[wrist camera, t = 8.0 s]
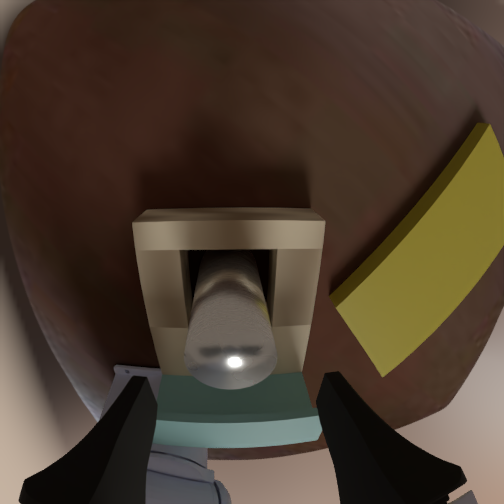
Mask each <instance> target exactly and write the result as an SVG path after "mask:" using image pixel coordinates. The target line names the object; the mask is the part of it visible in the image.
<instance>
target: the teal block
mask: <svg viewBox="0 0 504 504" xmlns="http://www.w3.org/2000/svg"><path fill="white" fill-rule="evenodd" d="M157 404H158V409H157V420H156V428H155V433H154V437H153V442H152V443H153V444H161V445H171V446H182V447H200V448H245V447H263V446H275V445H285V444H293V443H301V442H308V441H314V440H318V438H319V435H320V433H321V431H322V427H321V424H320V420H319V415H318V410H317V408H312V406H311V402H310V399H309V395H308V392H307V388H306V385H305V382H304V378H303V375H302V372H297V373H286V374H272V375H269V376H268V377H267V378H265V379H264V380H263V381H261V382H259V383H257V384H255V385H253V386H250V387H246V388H242V389H219V388H215V387H211V386H208V385H206V384H204V383H202V382H200V381H199V380H197V379H196V378H195V377H193V376H181V375H163V374H162V378H161V382H160V387H159V392H158V397H157Z"/></svg>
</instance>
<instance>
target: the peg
mask: <svg viewBox="0 0 504 504" xmlns="http://www.w3.org/2000/svg"><path fill="white" fill-rule="evenodd" d="M184 362H185V365H186V367H187V369H188V371H189V372H190V374H191V375H192V376H193V377H195V378H196V379H197V380H199V381H200V382H202V383H204V384H206V385H208V386H211V387H215V388H219V389H242V388H246V387H250V386H253V385H255V384H257V383H259V382H261V381H263V380H264V379H265V378H267V377H268V376H269V375H270V374H271V373H272V371H273V370H274V368H275V366H276V363H277V350H276V346H275V341H274V337H273V333H272V328H271V324H270V320H269V315H268V311H267V307H266V303H265V298H264V294H263V290H262V285H261V281H260V277H259V273H258V268H257V264H256V260H255V258H254V256H253V254H252V253H251V252H250V251H249V250H248V249H222V250H207V251H206V253H205V254H204V255H203V257H202V259H201V263H200V268H199V273H198V278H197V283H196V288H195V294H194V299H193V304H192V310H191V316H190V321H189V327H188V333H187V339H186V345H185V352H184Z"/></svg>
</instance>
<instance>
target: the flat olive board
mask: <svg viewBox="0 0 504 504" xmlns="http://www.w3.org/2000/svg"><path fill="white" fill-rule="evenodd" d="M503 245H504V157H503V154H502V152H501V149H500V147H499V144H498V141H497V139H496V137H495V134H494V132H493V130H492V127H491V125H490V124H486V123H477V124H476V126H475V127H474V129H473V130H472V131H471V133H470V134H469V136H468V137H467V139H466V140H465V142H464V143H463V144H462V146H461V147H460V149H459V150H458V151H457V153H456V154H455V156H454V157H453V158H452V160H451V161H450V162H449V164H448V165H447V166H446V168H445V169H444V170H443V171H442V173H441V174H440V175H439V177H438V178H437V179H436V180H435V182H434V183H433V184H432V185H431V187H430V188H429V189H428V190H427V192H426V193H425V194H424V195H423V197H422V198H421V199H420V200H419V201H418V203H417V204H416V205H415V206H414V207H413V208H412V210H411V211H410V212H409V213H408V214H407V215H406V217H405V218H404V219H403V220H402V221H401V222H400V223H399V225H398V226H397V227H396V228H395V229H394V230H393V231H392V232H391V233H390V235H389V236H388V237H387V238H386V239H385V240H384V241H383V242H382V243H381V244H380V245H379V246H378V248H377V249H376V250H375V251H374V252H373V253H372V254H371V255H370V256H369V257H368V258H367V259H366V260H365V261H364V262H363V263H362V264H361V265H360V266H359V267H358V268H357V269H356V270H355V271H354V272H353V273H352V274H351V275H350V276H349V277H348V278H347V279H346V280H345V281H344V282H343V283H342V284H341V285H340V286H339V287H338V288H337V289H336V290H335V291H334V292H333V293H332V294H331V295H330V296H329V297H330V299H331V301H332V302H333V304H334V306H335V307H336V309H337V310H338V312H339V313H340V315H341V316H342V318H343V319H344V320H345V322H346V323H347V325H348V326H349V328H350V329H351V331H352V332H353V334H354V335H355V336H356V338H357V339H358V341H359V342H360V344H361V345H362V347H363V348H364V350H365V351H366V353H367V354H368V356H369V357H370V359H371V360H372V362H373V363H374V365H375V366H376V368H377V369H378V371H379V372H380V374H381V375H382V377H384V376H385V375H386V374H388V373H389V372H390V371H391V370H392V369H394V368H395V367H396V366H397V365H398V364H399V363H401V362H402V361H403V360H404V359H405V358H406V357H407V356H409V355H410V354H411V353H412V352H413V351H414V350H415V349H416V348H417V347H418V346H419V345H420V344H422V343H423V342H424V341H425V340H426V339H427V338H428V337H429V336H430V335H431V334H432V333H433V332H434V331H435V330H436V329H437V328H438V327H439V326H440V325H441V324H442V322H443V321H444V320H445V319H446V318H447V317H448V316H449V315H450V314H451V313H452V312H453V311H454V309H455V308H456V307H457V306H458V305H459V304H460V303H461V301H462V300H463V299H464V298H465V297H466V295H467V294H468V293H469V292H470V291H471V289H472V288H473V287H474V286H475V284H476V283H477V282H478V281H479V279H480V278H481V277H482V275H483V274H484V273H485V271H486V270H487V269H488V267H489V266H490V264H491V263H492V262H493V260H494V259H495V257H496V256H497V254H498V253H499V251H500V250H501V248H502V247H503Z"/></svg>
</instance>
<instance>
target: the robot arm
mask: <svg viewBox="0 0 504 504" xmlns="http://www.w3.org/2000/svg"><path fill="white" fill-rule="evenodd" d="M114 371H115V377H114V380H113V382H112V385H111V388H110V390H109V393H108V396H107V399H106V402H105V405H104V408H103V411H102V414H101V417H100V420H99V422H98V423H97V424H96V425H95V426H94V428H93V429H92V430H91V431H90V432H89V433H88V434H87V435H86V436H85V437H84V438H83V439H82V440H81V441H80V442H79V443H78V444H77V445H76V446H75V447H74V448H72V449H71V450H70V451H69V452H68V453H67V454H65V455H64V456H63V457H62V458H60V459H59V460H57V461H56V462H54V463H53V464H51V465H50V466H49V467H47V468H45V469H44V470H42V471H40V472H38V473H36V474H34V475H33V476H31V477H29V478H27V479H25V480H24V483H23V486H22V490H21V493H20V497H19V502H20V503H21V504H231V498H230V495H229V493H228V491H227V489H226V488H225V487H224V485H223V484H222V483H221V482H220V481H217V480H214V471H213V470H209V469H207V448H200V447H182V446H171V445H161V444H153V443H152V442H153V437H154V433H155V428H156V420H157V409H158V404H157V397H158V392H159V387H160V382H161V378H162V372H161V369H159V368H146V367H135V366H125V365H115V366H114ZM316 404H317V410H318V415H319V420H320V424H321V427H322V430H323V433H324V436H325V439H326V442H327V445H328V448H329V452H330V455H331V458H332V460H333V464H334V468H335V473H336V478H337V484H338V490H339V497H340V504H447V501H448V500H449V496H448V494H449V493H451V492H453V491H454V490H456V489H457V488H459V487H460V486H462V485H463V484H465V483H466V482H467V479H466V477H465V475H464V473H463V471H462V469H461V467H460V466H458V465H455V464H452V463H449V462H447V461H443V460H442V459H439V458H437V457H435V456H433V455H431V454H429V453H428V452H426V451H424V450H422V449H421V448H419V447H417V446H415V445H414V444H412V443H411V442H410V441H408V440H407V439H405V438H404V437H402V436H401V435H400V434H399V433H397V432H396V431H395V430H394V429H392V428H391V427H390V426H389V425H388V424H387V423H386V422H384V421H383V420H382V419H381V418H380V417H379V416H378V415H377V414H376V413H375V412H374V411H373V410H372V409H371V408H370V407H369V406H368V405H367V403H366V402H365V401H364V400H363V399H362V398H361V397H360V396H359V395H358V393H357V392H356V391H355V390H354V389H353V388H352V386H351V385H350V384H349V383H348V382H347V380H346V379H345V378H344V377H343V376H342V374H341V373H340V372H339V371H337V372H330V373H325V374H324V378H323V381H322V384H321V387H320V390H319V394H318V397H317V400H316ZM448 504H478V503H477V501H476V498H475V496H474V494H473V492H472V490H470V491H469V492H467V493H465V494H464V495H462V496H461V497H459V498H457V499H456V500H454V501H452V502H451V503H448Z"/></svg>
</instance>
